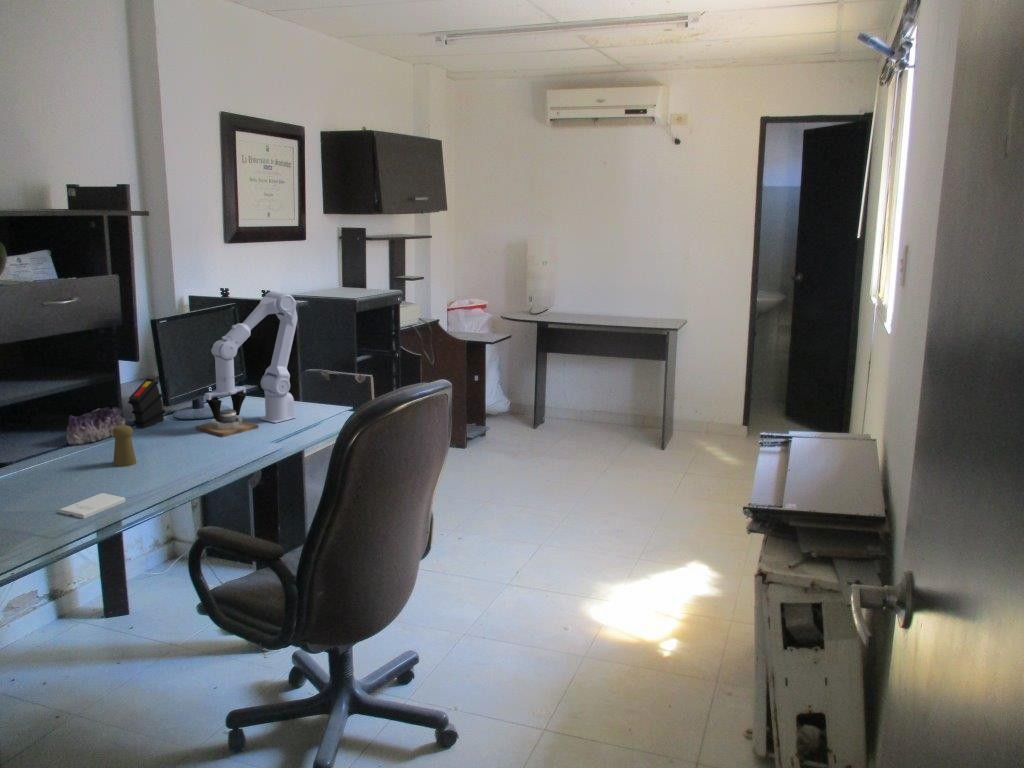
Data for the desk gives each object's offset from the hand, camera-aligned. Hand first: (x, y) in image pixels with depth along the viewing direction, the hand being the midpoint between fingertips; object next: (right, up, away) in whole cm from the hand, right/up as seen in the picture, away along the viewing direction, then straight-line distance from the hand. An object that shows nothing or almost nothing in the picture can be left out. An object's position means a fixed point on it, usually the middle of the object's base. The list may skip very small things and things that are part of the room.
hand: (226, 417), depth 272 cm
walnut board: (0, -4, +1) cm, 4 cm away
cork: (-16, -12, -37) cm, 42 cm away
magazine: (-27, -3, +2) cm, 27 cm away
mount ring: (0, -4, +1) cm, 4 cm away
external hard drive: (-9, -20, -69) cm, 73 cm away
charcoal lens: (0, -3, 0) cm, 3 cm away
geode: (-37, -6, -13) cm, 39 cm away
